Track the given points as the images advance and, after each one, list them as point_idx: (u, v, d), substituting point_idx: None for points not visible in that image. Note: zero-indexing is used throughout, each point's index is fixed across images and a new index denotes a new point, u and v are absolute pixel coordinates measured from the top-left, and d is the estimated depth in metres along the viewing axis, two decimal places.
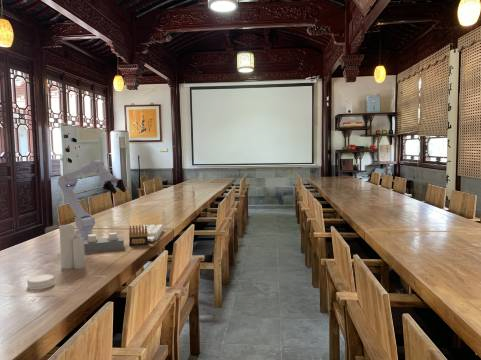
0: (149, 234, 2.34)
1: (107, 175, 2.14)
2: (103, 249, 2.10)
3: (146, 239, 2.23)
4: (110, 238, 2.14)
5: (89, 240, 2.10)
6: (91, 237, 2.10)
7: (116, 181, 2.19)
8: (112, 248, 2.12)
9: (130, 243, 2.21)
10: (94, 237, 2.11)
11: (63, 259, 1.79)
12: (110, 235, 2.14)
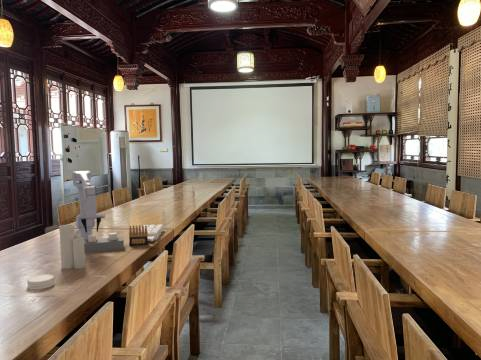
0: (149, 234, 2.34)
1: (87, 212, 2.08)
2: (103, 249, 2.10)
3: (146, 239, 2.23)
4: (110, 238, 2.14)
5: (89, 240, 2.10)
6: (91, 237, 2.10)
7: (98, 217, 2.12)
8: (112, 248, 2.12)
9: (130, 243, 2.21)
10: (94, 237, 2.11)
11: (63, 259, 1.79)
12: (110, 235, 2.14)
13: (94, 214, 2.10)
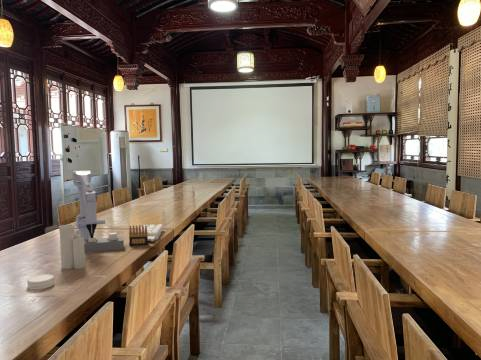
0: (149, 234, 2.34)
1: (87, 218, 2.08)
2: (103, 249, 2.10)
3: (146, 239, 2.23)
4: (110, 238, 2.14)
5: None
6: (91, 239, 2.10)
7: None
8: (112, 248, 2.12)
9: (130, 243, 2.21)
10: (94, 239, 2.11)
11: (63, 259, 1.79)
12: (110, 235, 2.14)
13: (94, 220, 2.10)
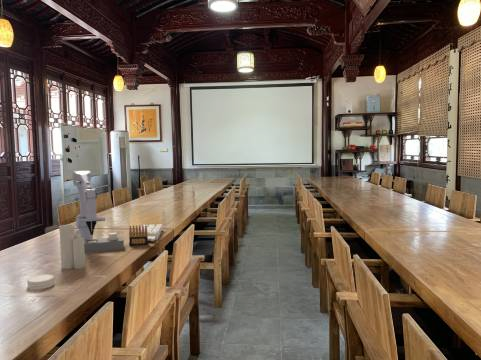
0: (150, 234, 2.35)
1: (87, 214, 2.08)
2: (103, 249, 2.10)
3: (146, 239, 2.23)
4: (110, 238, 2.14)
5: None
6: None
7: None
8: (112, 248, 2.12)
9: (130, 243, 2.21)
10: None
11: (63, 259, 1.79)
12: (110, 235, 2.14)
13: (94, 217, 2.10)
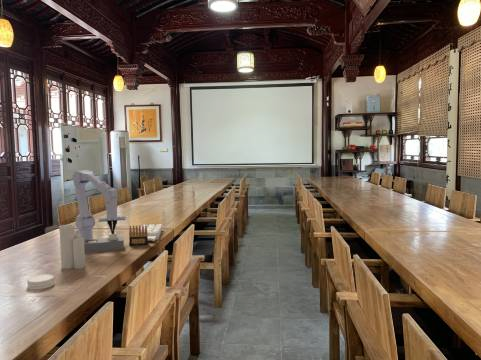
0: (150, 234, 2.35)
1: (108, 214, 2.12)
2: (103, 249, 2.10)
3: (146, 239, 2.23)
4: (110, 238, 2.14)
5: None
6: None
7: (119, 219, 2.16)
8: (112, 248, 2.12)
9: (130, 243, 2.21)
10: None
11: (63, 259, 1.79)
12: (110, 235, 2.14)
13: (115, 216, 2.14)
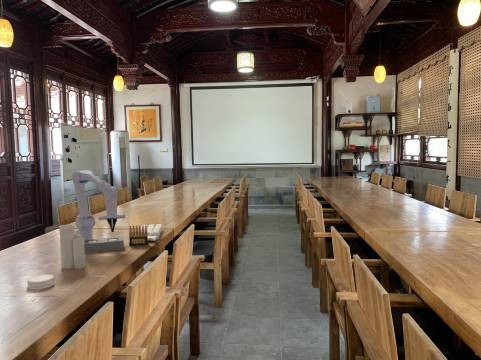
0: (151, 234, 2.35)
1: (108, 212, 2.12)
2: (103, 249, 2.10)
3: (146, 239, 2.23)
4: None
5: None
6: None
7: (118, 217, 2.16)
8: (112, 248, 2.12)
9: (130, 243, 2.21)
10: None
11: (63, 259, 1.79)
12: None
13: (115, 214, 2.14)
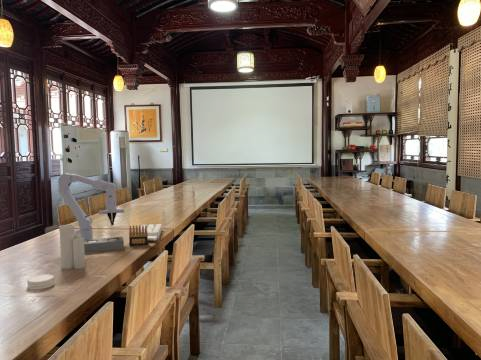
0: (151, 233, 2.35)
1: (108, 206, 2.27)
2: (103, 249, 2.10)
3: (146, 239, 2.23)
4: None
5: None
6: None
7: (118, 211, 2.31)
8: (112, 248, 2.12)
9: (130, 243, 2.21)
10: None
11: (63, 259, 1.79)
12: None
13: (114, 209, 2.28)
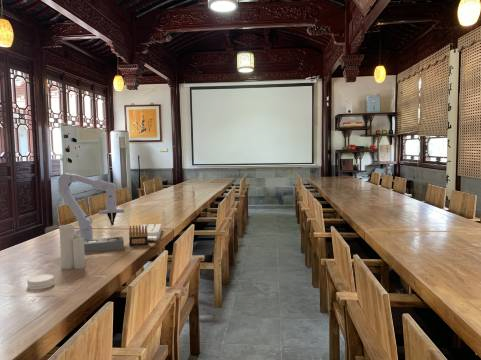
0: (151, 233, 2.36)
1: (108, 206, 2.27)
2: (103, 249, 2.10)
3: (146, 239, 2.23)
4: None
5: None
6: None
7: (118, 211, 2.31)
8: (112, 248, 2.12)
9: (130, 243, 2.21)
10: None
11: (63, 259, 1.79)
12: None
13: (114, 209, 2.28)
